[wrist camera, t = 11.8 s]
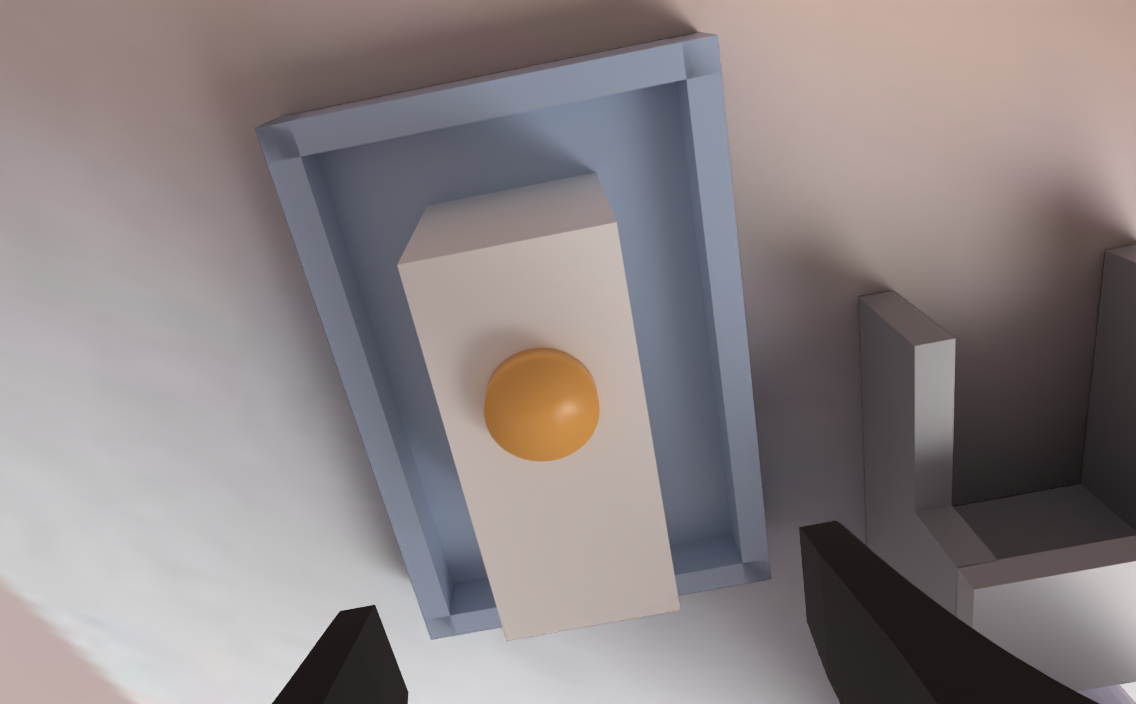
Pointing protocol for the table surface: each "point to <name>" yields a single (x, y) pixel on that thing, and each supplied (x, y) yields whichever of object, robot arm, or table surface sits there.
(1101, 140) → the table surface
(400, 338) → the tray
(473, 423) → the white block with knob
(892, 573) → the robot arm
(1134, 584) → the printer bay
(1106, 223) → the table surface
